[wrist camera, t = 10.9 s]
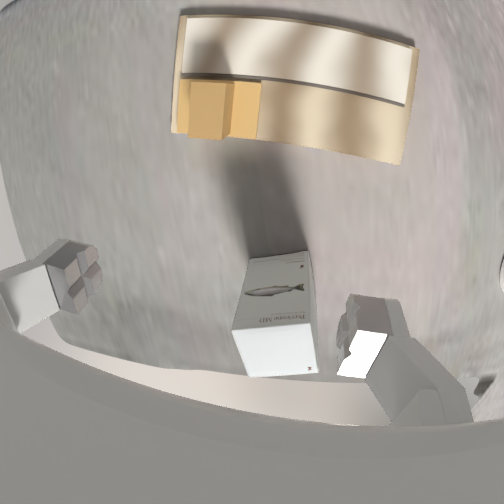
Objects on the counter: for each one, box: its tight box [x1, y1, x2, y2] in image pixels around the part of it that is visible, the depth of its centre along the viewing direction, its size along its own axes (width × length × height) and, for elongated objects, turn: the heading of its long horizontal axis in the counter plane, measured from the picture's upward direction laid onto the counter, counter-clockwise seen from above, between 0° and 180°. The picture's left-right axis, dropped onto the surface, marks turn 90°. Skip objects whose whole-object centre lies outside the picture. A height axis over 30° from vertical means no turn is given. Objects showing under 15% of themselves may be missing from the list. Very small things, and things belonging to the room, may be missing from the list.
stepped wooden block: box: [177, 79, 262, 140], centre depth 26 cm, size 8×6×5 cm
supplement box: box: [231, 251, 319, 377], centre depth 33 cm, size 7×7×13 cm
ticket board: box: [171, 15, 419, 166], centre depth 26 cm, size 24×13×2 cm, turn 85°
